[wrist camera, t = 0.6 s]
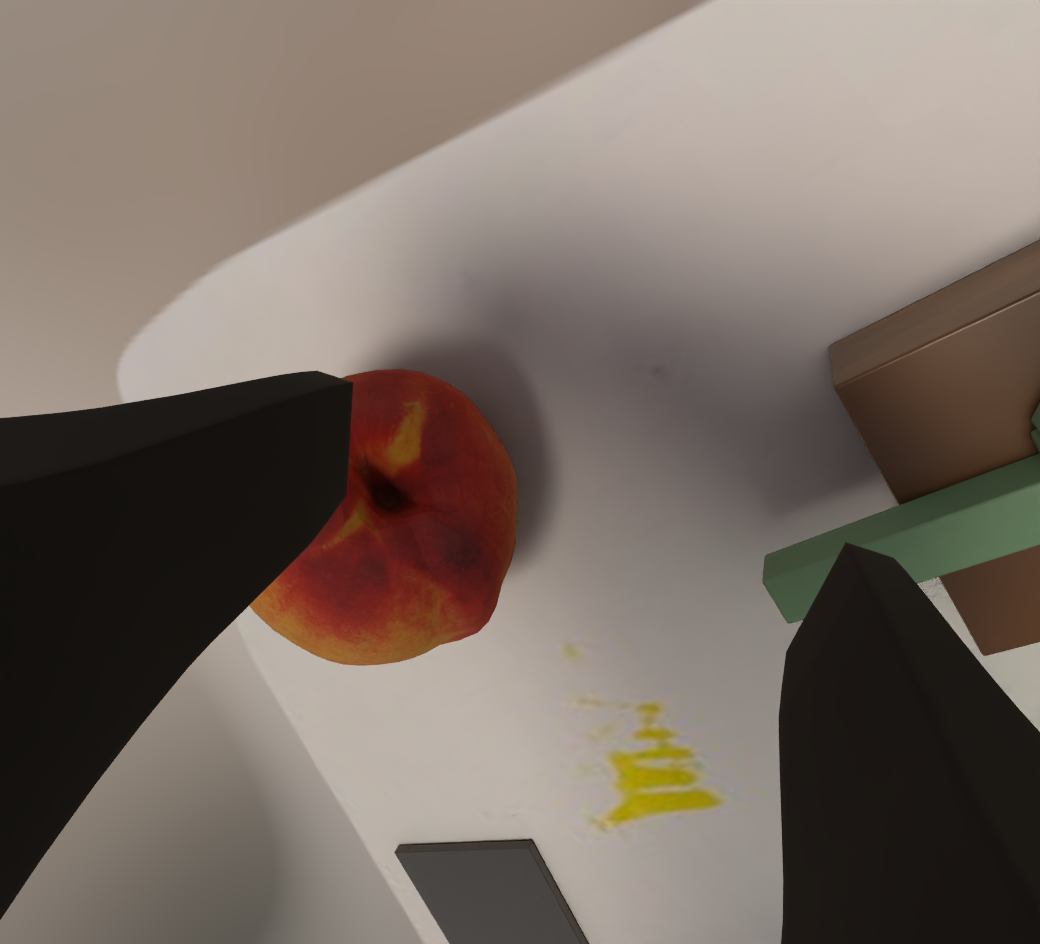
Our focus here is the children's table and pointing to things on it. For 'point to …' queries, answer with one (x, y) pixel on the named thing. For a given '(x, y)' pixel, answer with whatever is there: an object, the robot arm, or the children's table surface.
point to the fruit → (403, 530)
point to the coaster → (490, 893)
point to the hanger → (922, 533)
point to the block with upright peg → (957, 417)
